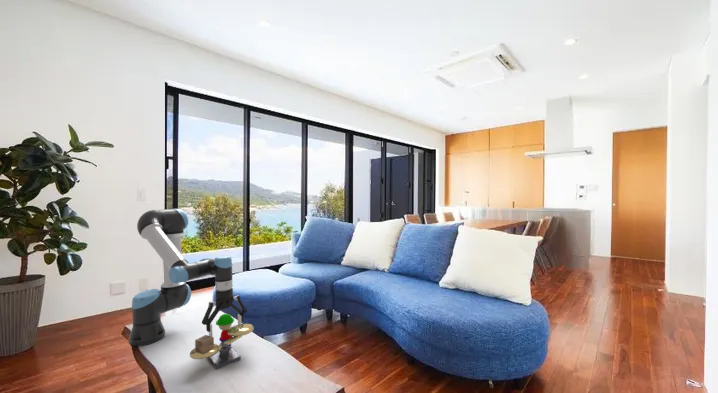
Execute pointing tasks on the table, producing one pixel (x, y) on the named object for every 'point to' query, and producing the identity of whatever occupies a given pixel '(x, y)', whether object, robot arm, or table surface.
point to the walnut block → (204, 344)
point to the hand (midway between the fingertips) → (225, 333)
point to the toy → (225, 326)
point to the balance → (225, 348)
